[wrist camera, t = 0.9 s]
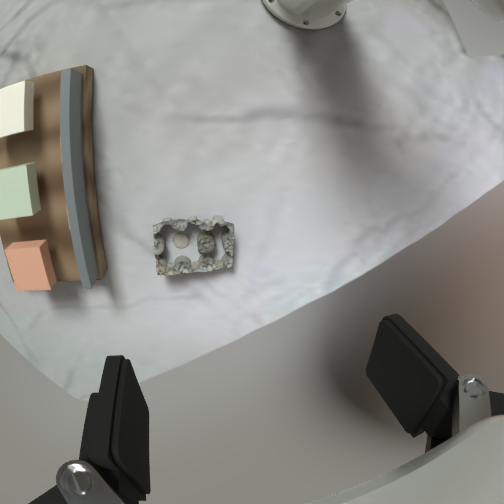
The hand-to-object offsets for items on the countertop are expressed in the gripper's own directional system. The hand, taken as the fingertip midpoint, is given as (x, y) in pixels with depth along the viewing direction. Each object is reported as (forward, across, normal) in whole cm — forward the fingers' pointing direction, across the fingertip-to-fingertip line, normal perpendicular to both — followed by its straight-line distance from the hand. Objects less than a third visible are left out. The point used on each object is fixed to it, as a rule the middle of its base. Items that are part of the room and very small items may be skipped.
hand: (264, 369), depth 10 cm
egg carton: (+32, +2, +6) cm, 33 cm away
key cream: (+26, +24, -14) cm, 38 cm away
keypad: (+31, +22, -4) cm, 39 cm away
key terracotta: (+27, +24, +6) cm, 37 cm away
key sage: (+27, +24, -4) cm, 36 cm away
